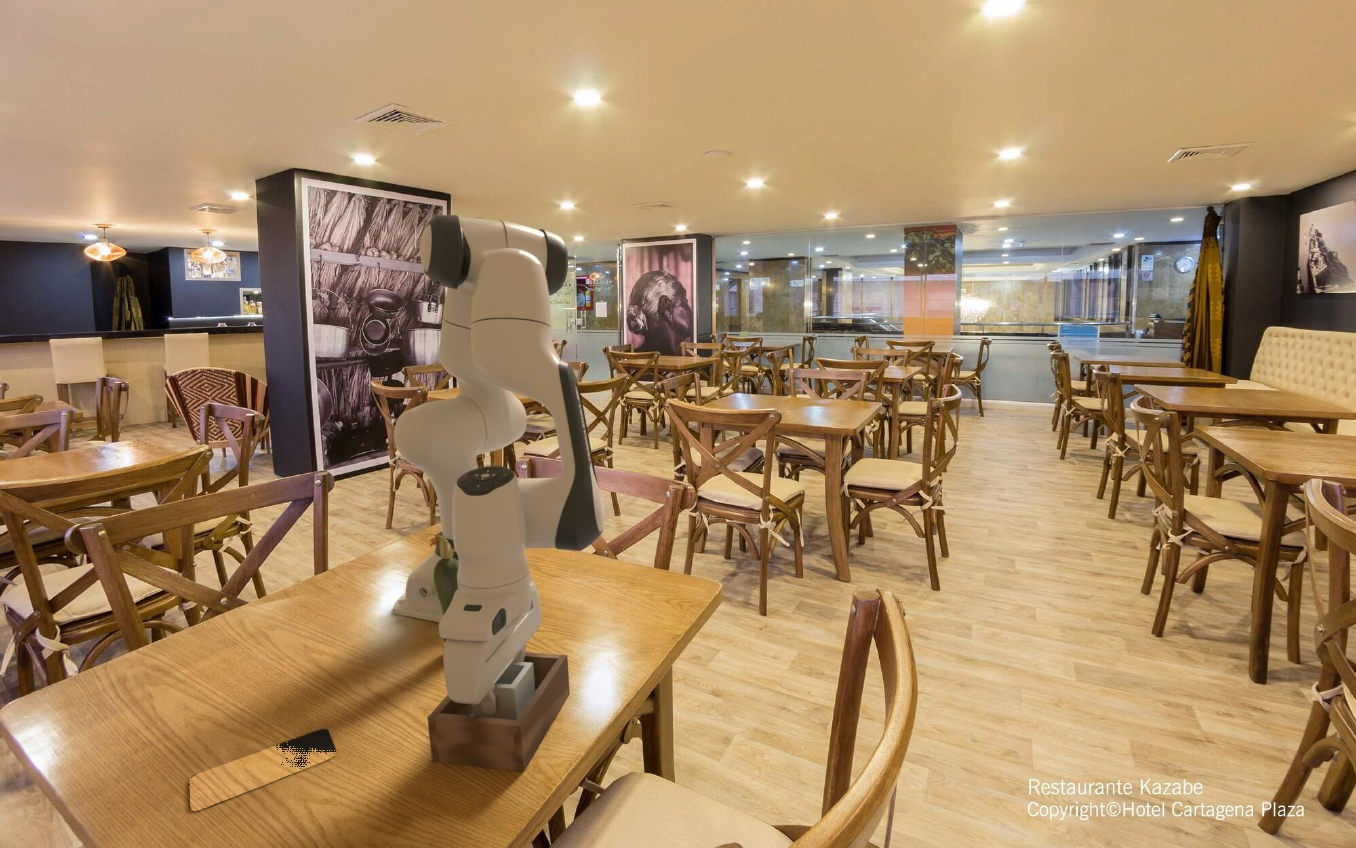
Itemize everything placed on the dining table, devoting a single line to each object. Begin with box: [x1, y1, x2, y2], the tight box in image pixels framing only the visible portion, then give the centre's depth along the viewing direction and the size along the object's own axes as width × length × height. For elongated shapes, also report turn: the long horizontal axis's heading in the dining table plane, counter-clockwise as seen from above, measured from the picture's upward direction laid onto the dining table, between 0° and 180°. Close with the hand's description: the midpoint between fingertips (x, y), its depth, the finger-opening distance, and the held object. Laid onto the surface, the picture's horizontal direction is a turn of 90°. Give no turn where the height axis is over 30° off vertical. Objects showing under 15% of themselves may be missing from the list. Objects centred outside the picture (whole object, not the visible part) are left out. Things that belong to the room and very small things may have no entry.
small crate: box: [472, 661, 535, 720], centre depth 87 cm, size 6×6×5 cm
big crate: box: [426, 651, 570, 772], centre depth 87 cm, size 12×16×6 cm
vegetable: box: [433, 535, 459, 643], centre depth 104 cm, size 4×4×20 cm
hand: (503, 693), depth 87 cm, fingers closed on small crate, 6 cm apart
